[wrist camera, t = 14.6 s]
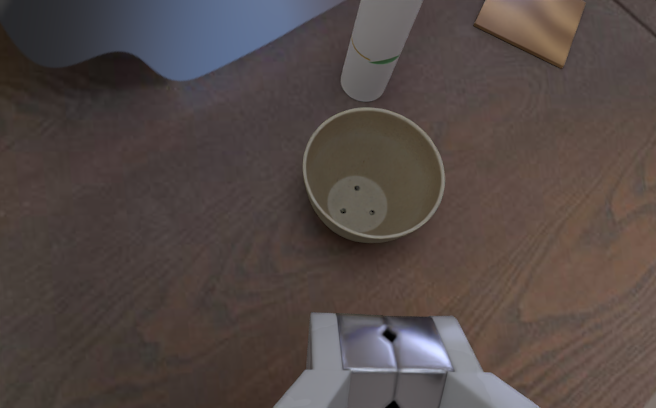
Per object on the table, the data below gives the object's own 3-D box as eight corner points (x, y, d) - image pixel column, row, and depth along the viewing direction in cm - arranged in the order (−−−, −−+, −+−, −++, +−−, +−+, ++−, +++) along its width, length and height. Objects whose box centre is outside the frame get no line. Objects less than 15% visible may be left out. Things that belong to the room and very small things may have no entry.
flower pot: (397, 146, 40) (424, 100, 34) (427, 253, 37) (462, 226, 31) (286, 158, 39) (291, 112, 32) (307, 273, 35) (318, 249, 29)
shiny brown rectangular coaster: (561, 68, 46) (563, 66, 46) (473, 25, 47) (474, 22, 46) (583, 5, 50) (586, 2, 50) (501, -34, 51) (503, -38, 50)
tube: (333, 90, 42) (370, -53, 28) (349, 56, 43) (391, -96, 29) (377, 108, 42) (435, -27, 28) (391, 73, 43) (452, -71, 29)
